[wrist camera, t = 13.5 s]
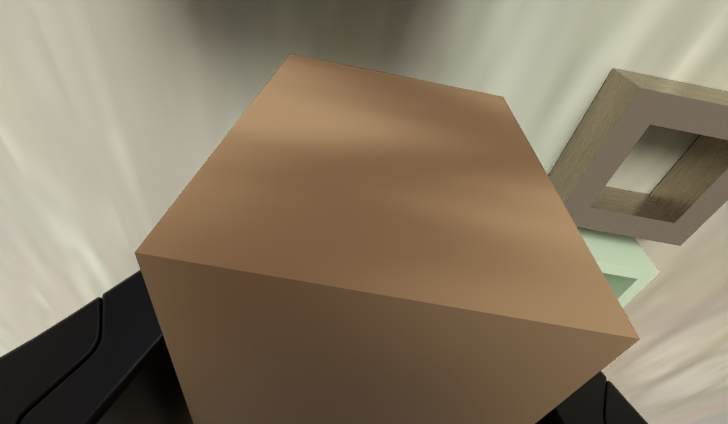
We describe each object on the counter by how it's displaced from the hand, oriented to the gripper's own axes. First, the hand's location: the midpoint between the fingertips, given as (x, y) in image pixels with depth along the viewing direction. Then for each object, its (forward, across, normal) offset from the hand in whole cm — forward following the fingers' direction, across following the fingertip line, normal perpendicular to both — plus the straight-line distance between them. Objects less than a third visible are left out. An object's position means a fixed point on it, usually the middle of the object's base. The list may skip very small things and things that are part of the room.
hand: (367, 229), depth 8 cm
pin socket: (+9, -11, +1) cm, 14 cm away
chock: (+1, 0, 0) cm, 1 cm away
